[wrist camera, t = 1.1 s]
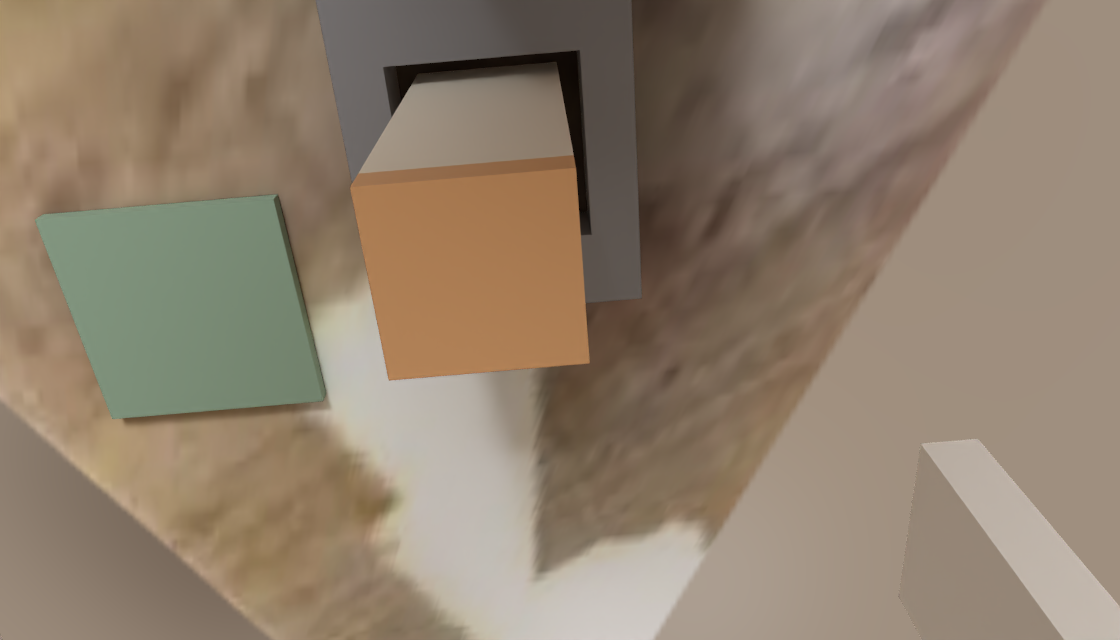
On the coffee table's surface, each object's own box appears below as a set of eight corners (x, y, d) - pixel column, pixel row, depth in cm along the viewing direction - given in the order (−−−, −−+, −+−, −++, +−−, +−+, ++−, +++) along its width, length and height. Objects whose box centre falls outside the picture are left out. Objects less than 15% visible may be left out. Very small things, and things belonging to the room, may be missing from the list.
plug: (418, 73, 30) (349, 187, 18) (556, 61, 30) (575, 167, 18) (437, 205, 32) (389, 380, 21) (566, 194, 32) (589, 363, 21)
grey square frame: (328, -25, 28) (311, -19, 26) (621, -51, 28) (629, -46, 26) (389, 292, 34) (379, 320, 31) (634, 271, 34) (641, 298, 31)
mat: (43, 214, 32) (34, 219, 31) (277, 194, 32) (273, 199, 31) (118, 411, 36) (112, 419, 35) (326, 393, 36) (323, 401, 35)
